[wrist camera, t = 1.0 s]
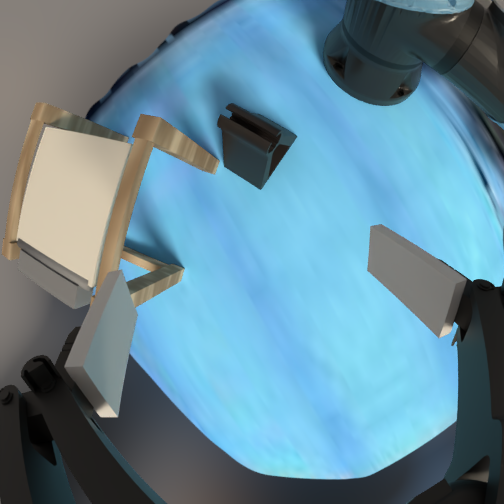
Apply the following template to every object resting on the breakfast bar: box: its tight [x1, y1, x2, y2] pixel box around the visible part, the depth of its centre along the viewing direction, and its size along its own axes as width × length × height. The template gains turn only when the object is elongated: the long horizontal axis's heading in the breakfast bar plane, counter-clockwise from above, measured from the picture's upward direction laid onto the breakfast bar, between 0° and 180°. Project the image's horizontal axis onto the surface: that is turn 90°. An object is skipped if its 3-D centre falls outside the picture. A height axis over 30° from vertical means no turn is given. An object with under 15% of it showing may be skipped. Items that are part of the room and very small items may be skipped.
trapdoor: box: [16, 127, 133, 309], centre depth 24 cm, size 13×16×3 cm
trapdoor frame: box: [2, 103, 220, 308], centre depth 31 cm, size 18×18×19 cm
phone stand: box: [217, 103, 297, 190], centre depth 31 cm, size 9×6×12 cm, turn 146°
